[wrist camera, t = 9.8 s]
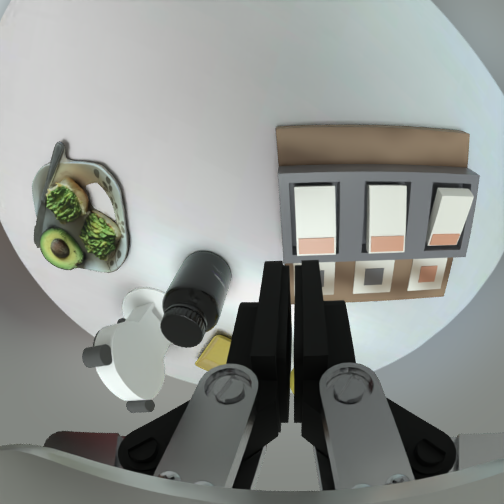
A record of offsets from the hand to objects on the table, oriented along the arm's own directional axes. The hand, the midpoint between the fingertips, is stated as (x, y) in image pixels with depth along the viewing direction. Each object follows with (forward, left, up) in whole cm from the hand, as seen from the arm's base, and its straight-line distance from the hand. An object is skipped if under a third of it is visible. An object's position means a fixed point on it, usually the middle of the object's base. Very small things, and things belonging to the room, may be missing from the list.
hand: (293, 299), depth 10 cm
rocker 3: (+7, +17, -22) cm, 29 cm away
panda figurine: (+24, -22, -27) cm, 42 cm away
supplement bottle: (+16, -12, -27) cm, 34 cm away
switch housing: (+7, +9, -25) cm, 28 cm away
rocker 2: (+7, +10, -22) cm, 25 cm away
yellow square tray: (+32, -11, -28) cm, 44 cm away
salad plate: (+7, -30, -28) cm, 41 cm away
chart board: (+9, +10, -27) cm, 30 cm away
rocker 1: (+7, +2, -22) cm, 23 cm away
